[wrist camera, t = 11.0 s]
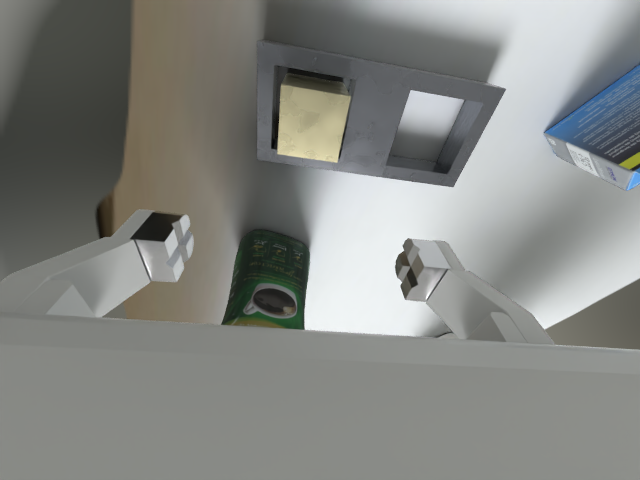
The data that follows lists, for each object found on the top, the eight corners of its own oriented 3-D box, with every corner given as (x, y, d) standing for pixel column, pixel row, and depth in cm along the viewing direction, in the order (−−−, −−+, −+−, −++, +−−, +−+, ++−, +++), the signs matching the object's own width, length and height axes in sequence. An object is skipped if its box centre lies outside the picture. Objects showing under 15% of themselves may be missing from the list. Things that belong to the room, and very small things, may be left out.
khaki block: (343, 82, 23) (350, 96, 18) (332, 138, 26) (337, 162, 22) (287, 72, 23) (280, 84, 18) (283, 131, 26) (277, 154, 21)
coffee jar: (233, 261, 37) (184, 409, 23) (248, 219, 32) (197, 372, 18) (296, 279, 40) (287, 421, 25) (318, 243, 35) (322, 392, 21)
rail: (486, 82, 23) (506, 88, 21) (442, 174, 29) (453, 187, 27) (263, 39, 21) (257, 41, 19) (261, 148, 27) (257, 159, 24)
